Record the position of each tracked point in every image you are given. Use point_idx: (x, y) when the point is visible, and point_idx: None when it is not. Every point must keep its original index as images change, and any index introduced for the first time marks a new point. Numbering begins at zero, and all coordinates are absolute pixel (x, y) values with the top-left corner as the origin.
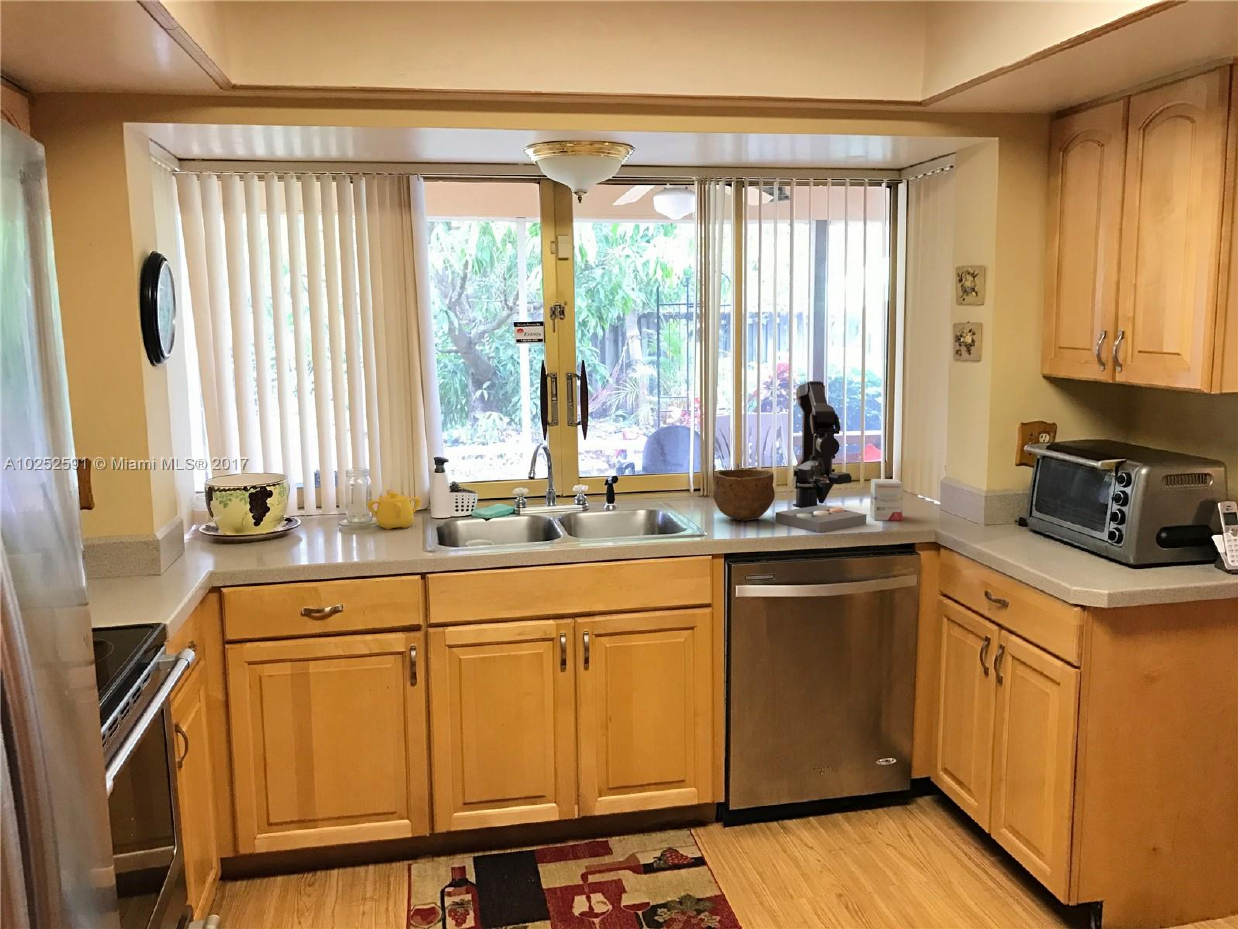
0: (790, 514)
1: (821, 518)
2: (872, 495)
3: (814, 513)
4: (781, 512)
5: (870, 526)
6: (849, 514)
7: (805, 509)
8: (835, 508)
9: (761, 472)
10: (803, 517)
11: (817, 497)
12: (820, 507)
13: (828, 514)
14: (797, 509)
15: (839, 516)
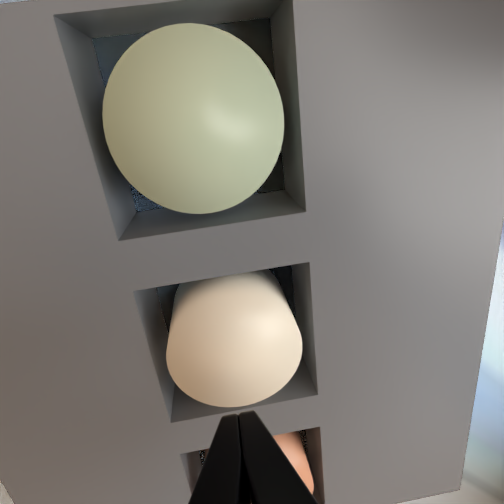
0: (345, 31)
1: (2, 221)
2: None
3: (241, 290)
4: (488, 6)
5: None
6: (97, 498)
7: (429, 323)
8: None
9: None
10: (122, 59)
11: (281, 457)
12: (408, 446)
13: None
14: (474, 264)
15: (48, 410)
